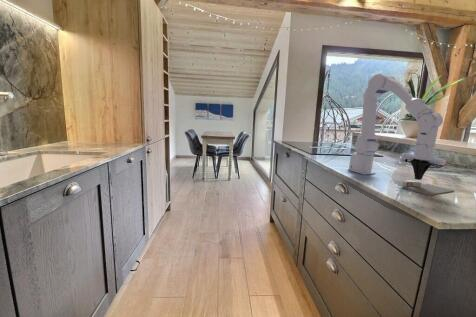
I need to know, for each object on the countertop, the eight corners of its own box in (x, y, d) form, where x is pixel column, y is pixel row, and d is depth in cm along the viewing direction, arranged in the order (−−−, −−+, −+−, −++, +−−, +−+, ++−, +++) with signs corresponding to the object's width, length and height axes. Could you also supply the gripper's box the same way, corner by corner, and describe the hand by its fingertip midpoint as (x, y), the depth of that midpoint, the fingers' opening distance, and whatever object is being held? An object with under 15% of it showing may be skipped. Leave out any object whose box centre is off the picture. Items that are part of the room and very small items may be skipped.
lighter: (417, 181, 96) (425, 184, 89) (416, 185, 96) (424, 189, 89) (397, 178, 98) (402, 181, 91) (396, 182, 99) (402, 186, 91)
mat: (402, 187, 92) (402, 186, 92) (427, 184, 98) (427, 183, 98) (428, 195, 84) (428, 194, 84) (453, 191, 90) (454, 190, 90)
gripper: (453, 147, 87) (445, 183, 89) (411, 142, 99) (405, 173, 102) (442, 148, 84) (434, 185, 86) (400, 142, 97) (394, 174, 99)
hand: (418, 179), depth 94 cm, fingers closed
